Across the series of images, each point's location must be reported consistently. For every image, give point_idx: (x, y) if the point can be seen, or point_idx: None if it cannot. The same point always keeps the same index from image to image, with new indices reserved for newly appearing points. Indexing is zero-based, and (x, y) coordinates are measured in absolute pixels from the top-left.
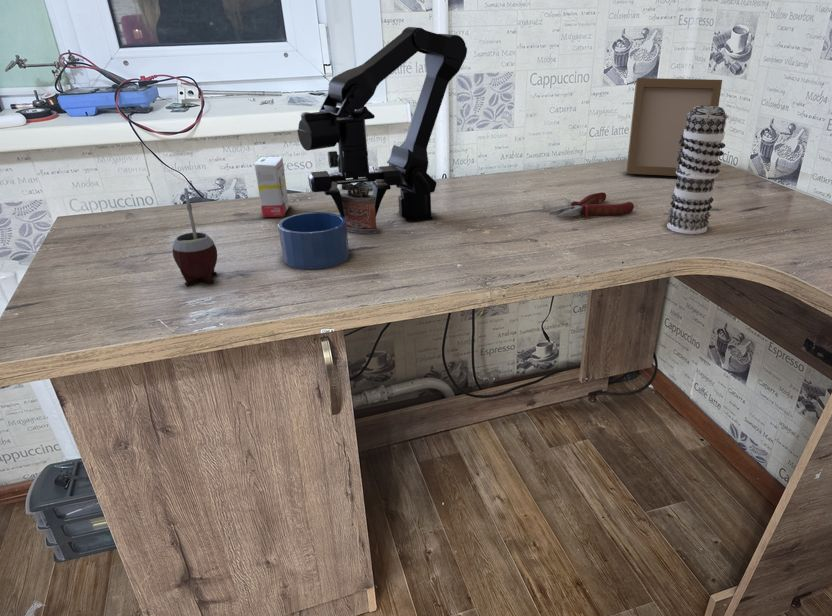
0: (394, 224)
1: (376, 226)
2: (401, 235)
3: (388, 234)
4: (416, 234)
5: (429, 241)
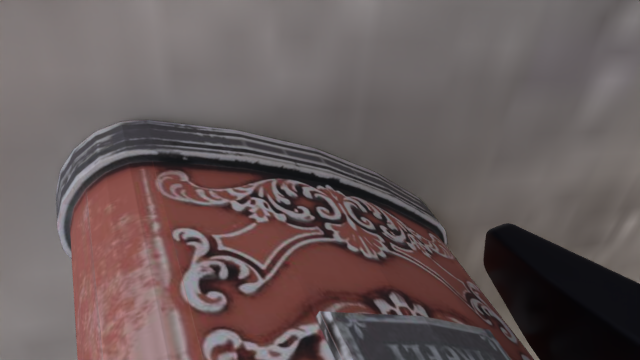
0: (615, 45)
1: (443, 236)
2: None
3: (482, 272)
4: (634, 249)
5: None
